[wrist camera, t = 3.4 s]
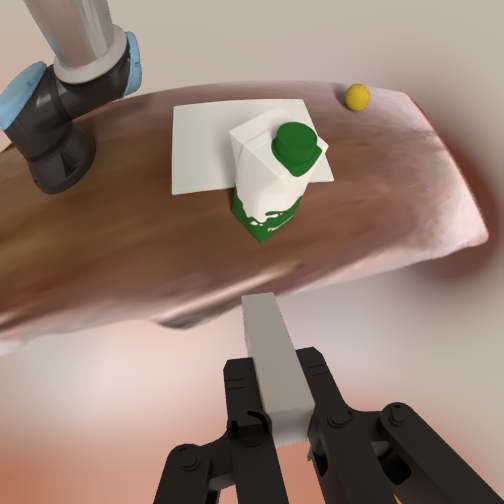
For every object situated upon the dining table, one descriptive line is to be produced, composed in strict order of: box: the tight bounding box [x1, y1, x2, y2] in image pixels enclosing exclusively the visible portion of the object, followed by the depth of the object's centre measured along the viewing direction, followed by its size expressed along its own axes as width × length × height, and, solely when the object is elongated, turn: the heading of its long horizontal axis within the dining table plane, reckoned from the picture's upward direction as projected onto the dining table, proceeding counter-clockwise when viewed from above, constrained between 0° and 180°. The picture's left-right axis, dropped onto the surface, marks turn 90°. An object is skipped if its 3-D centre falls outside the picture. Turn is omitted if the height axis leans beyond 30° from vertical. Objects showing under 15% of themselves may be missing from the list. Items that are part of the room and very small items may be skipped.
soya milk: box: [228, 106, 328, 243], centre depth 35 cm, size 9×9×20 cm
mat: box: [172, 99, 334, 195], centre depth 49 cm, size 22×28×1 cm
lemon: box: [345, 84, 370, 111], centre depth 52 cm, size 6×6×8 cm
